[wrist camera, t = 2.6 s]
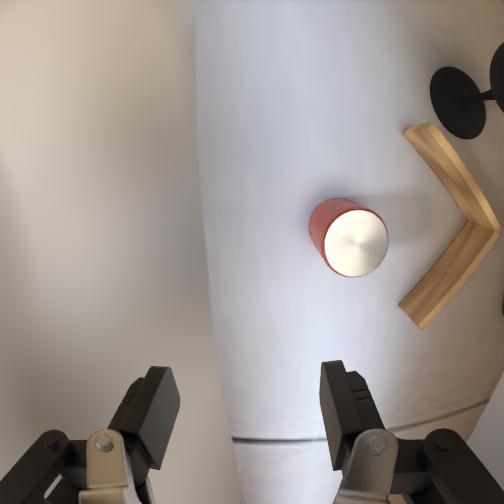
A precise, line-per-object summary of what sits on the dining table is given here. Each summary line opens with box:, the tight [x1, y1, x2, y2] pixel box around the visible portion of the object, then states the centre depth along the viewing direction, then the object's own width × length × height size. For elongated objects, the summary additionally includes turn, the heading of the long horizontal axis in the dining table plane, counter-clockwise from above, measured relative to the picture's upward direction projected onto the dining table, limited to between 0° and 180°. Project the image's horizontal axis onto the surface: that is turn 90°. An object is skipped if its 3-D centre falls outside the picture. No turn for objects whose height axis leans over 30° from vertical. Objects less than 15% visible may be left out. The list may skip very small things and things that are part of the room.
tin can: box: [309, 198, 388, 277], centre depth 28 cm, size 7×7×8 cm
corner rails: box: [399, 122, 501, 331], centre depth 29 cm, size 17×17×6 cm
